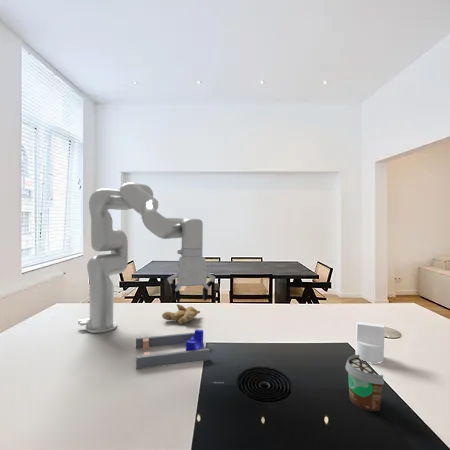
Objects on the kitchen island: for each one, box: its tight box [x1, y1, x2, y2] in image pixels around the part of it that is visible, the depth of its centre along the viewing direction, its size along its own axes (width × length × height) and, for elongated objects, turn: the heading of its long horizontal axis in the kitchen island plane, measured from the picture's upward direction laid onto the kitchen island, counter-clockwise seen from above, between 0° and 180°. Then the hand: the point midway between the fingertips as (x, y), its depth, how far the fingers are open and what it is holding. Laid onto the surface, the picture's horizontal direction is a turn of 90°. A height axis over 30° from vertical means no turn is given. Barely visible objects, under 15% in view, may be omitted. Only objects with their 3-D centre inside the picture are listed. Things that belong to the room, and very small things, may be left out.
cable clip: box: [185, 329, 204, 351], centre depth 109 cm, size 12×4×6 cm, turn 169°
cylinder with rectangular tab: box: [354, 321, 385, 363], centre depth 106 cm, size 9×9×12 cm
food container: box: [345, 354, 385, 412], centre depth 81 cm, size 12×6×10 cm, turn 5°
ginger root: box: [161, 303, 201, 325], centre depth 141 cm, size 16×16×8 cm
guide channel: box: [135, 332, 211, 370], centre depth 107 cm, size 24×16×4 cm
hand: (191, 300), depth 108 cm, fingers open, 9 cm apart
